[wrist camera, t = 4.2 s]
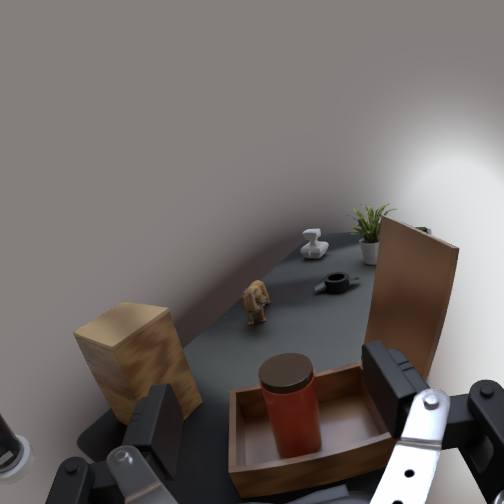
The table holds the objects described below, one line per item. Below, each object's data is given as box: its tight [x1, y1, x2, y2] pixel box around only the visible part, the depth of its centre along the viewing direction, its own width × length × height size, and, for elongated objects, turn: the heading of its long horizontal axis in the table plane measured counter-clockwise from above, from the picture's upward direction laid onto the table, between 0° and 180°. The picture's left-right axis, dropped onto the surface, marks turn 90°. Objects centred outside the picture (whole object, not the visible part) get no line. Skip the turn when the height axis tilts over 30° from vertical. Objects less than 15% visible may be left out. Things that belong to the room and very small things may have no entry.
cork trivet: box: [73, 302, 169, 351], centre depth 39 cm, size 10×10×1 cm
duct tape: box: [314, 272, 360, 294], centre depth 74 cm, size 8×10×3 cm
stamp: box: [301, 229, 329, 258], centre depth 97 cm, size 9×7×8 cm
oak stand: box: [75, 312, 202, 426], centre depth 42 cm, size 10×10×16 cm
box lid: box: [361, 215, 459, 382], centre depth 30 cm, size 18×14×4 cm
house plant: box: [351, 204, 395, 265], centre depth 82 cm, size 14×14×16 cm
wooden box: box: [229, 361, 400, 498], centre depth 33 cm, size 18×14×6 cm
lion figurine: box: [241, 280, 270, 325], centre depth 69 cm, size 15×5×9 cm, turn 179°
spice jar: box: [258, 353, 322, 458], centre depth 32 cm, size 6×6×12 cm
